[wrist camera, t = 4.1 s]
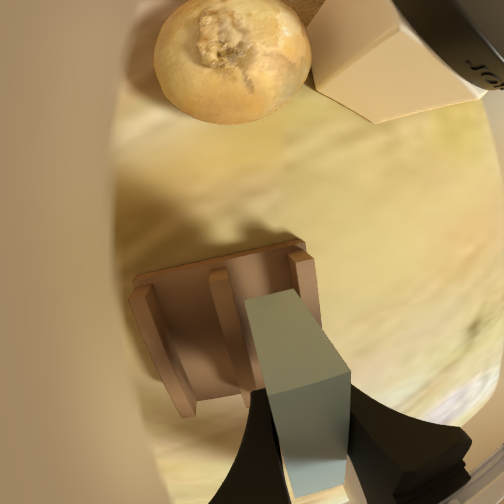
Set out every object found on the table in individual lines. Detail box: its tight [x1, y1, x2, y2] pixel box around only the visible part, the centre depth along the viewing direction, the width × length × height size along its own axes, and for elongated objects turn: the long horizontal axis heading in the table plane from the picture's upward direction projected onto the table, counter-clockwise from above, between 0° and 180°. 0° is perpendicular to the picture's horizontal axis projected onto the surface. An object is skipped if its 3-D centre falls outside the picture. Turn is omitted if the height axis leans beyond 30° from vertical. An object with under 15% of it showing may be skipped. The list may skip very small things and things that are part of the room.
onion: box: [153, 0, 312, 125], centre depth 11 cm, size 8×8×7 cm
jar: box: [306, 0, 504, 124], centre depth 9 cm, size 9×8×12 cm
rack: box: [128, 239, 322, 418], centre depth 17 cm, size 10×10×3 cm
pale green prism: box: [244, 288, 351, 498], centre depth 11 cm, size 8×2×6 cm, turn 11°
